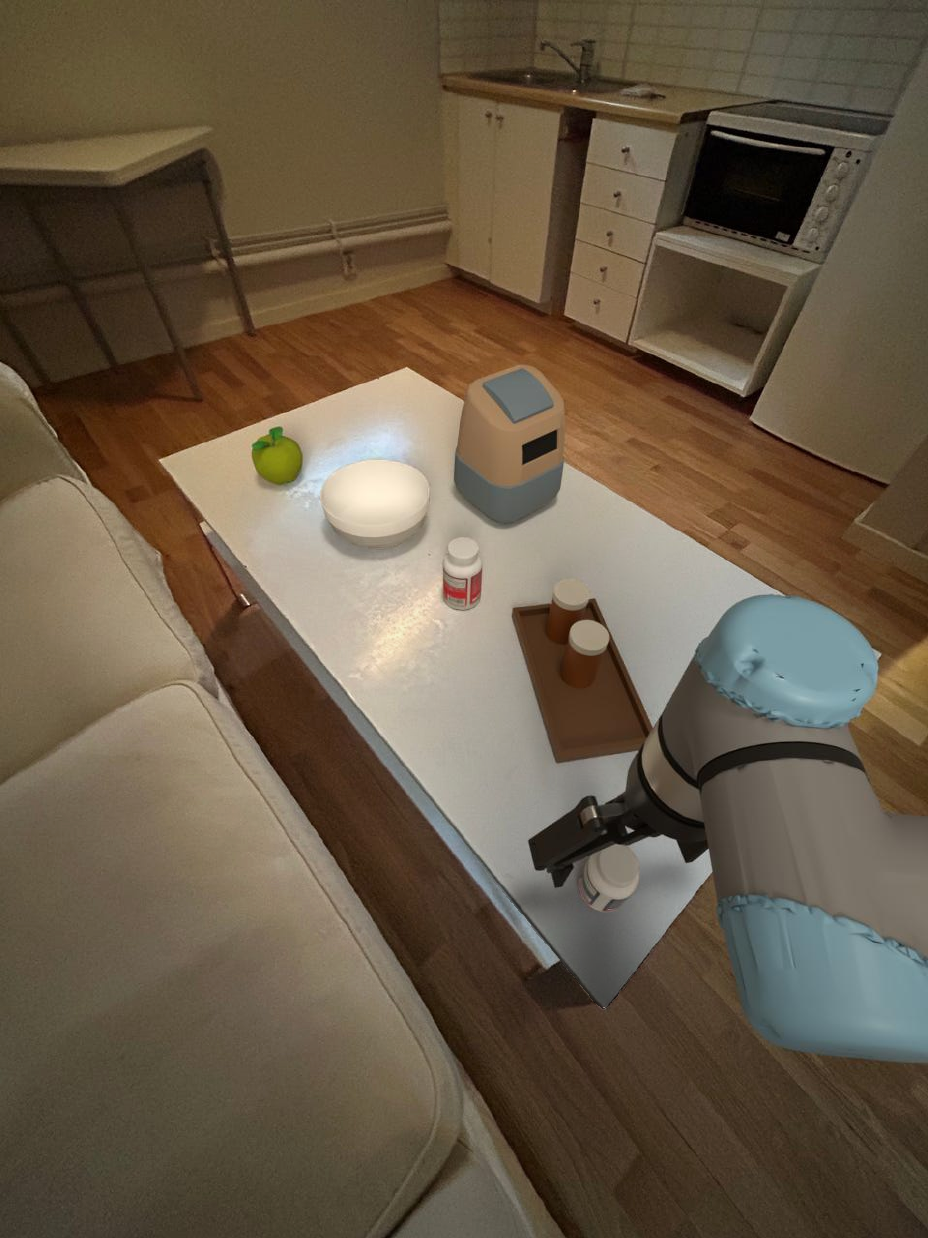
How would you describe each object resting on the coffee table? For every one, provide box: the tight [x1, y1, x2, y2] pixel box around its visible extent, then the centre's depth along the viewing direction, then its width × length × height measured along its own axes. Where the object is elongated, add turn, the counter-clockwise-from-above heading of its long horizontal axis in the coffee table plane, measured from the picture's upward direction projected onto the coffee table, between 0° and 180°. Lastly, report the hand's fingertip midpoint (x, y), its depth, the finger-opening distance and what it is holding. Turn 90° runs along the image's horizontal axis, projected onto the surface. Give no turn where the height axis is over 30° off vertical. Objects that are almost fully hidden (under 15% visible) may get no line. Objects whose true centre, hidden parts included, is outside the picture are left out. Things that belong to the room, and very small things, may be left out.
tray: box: [511, 597, 654, 764], centre depth 79 cm, size 26×14×2 cm, turn 10°
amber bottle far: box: [546, 578, 591, 644], centre depth 80 cm, size 5×5×9 cm
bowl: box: [319, 458, 431, 550], centre depth 96 cm, size 19×19×9 cm
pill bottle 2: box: [578, 844, 640, 913], centre depth 57 cm, size 5×5×9 cm
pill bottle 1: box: [442, 536, 484, 611], centre depth 85 cm, size 6×6×11 cm
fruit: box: [251, 426, 304, 486], centre depth 105 cm, size 9×9×10 cm
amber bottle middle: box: [560, 620, 609, 688], centre depth 75 cm, size 5×5×9 cm
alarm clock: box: [453, 363, 566, 524], centre depth 98 cm, size 17×17×23 cm
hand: (619, 860), depth 54 cm, fingers open, 13 cm apart
